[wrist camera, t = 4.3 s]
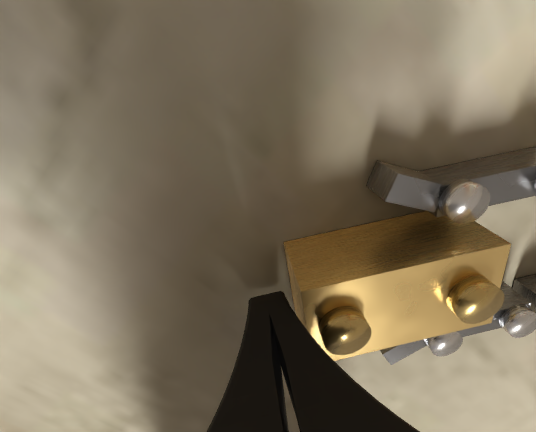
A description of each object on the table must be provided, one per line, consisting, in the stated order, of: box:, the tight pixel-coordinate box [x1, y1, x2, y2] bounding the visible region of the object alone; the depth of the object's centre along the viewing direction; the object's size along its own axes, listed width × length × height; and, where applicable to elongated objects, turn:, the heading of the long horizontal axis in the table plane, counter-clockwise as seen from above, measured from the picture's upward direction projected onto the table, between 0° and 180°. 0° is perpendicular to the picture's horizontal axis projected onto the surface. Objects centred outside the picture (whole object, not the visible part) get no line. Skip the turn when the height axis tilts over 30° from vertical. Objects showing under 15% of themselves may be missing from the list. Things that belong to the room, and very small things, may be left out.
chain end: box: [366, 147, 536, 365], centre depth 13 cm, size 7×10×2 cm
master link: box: [284, 211, 511, 361], centre depth 12 cm, size 7×4×4 cm, turn 99°
